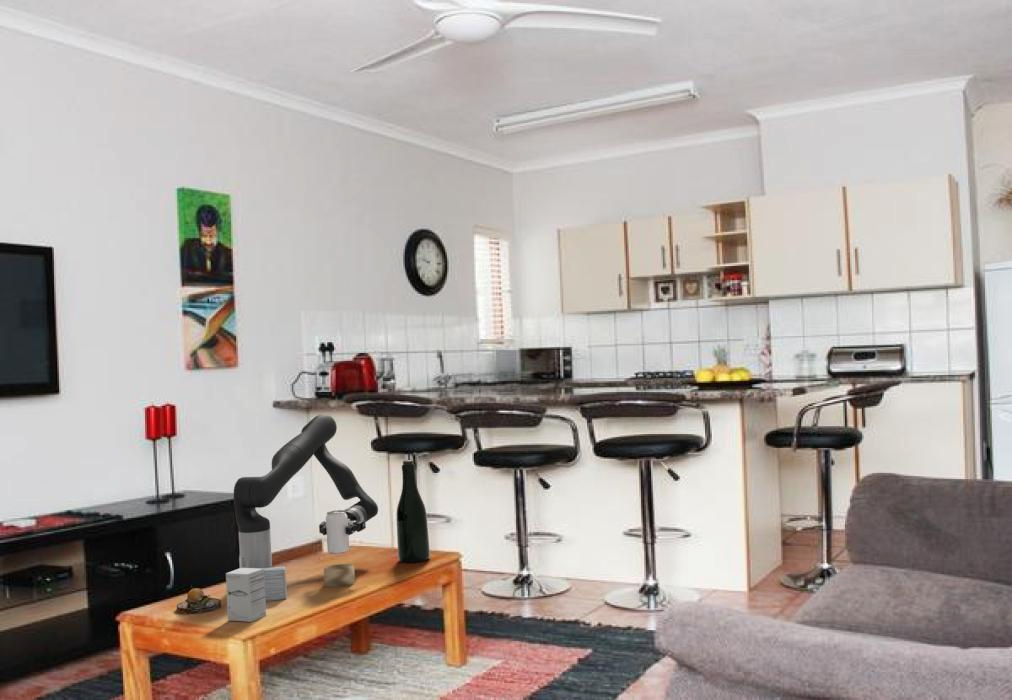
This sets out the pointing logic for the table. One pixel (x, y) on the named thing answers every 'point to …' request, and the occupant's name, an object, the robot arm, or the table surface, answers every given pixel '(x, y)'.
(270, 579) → the medicine box
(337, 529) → the can
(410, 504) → the dark green wine bottle
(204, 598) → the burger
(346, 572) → the grey rounded block
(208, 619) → the table surface
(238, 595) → the supplement box
